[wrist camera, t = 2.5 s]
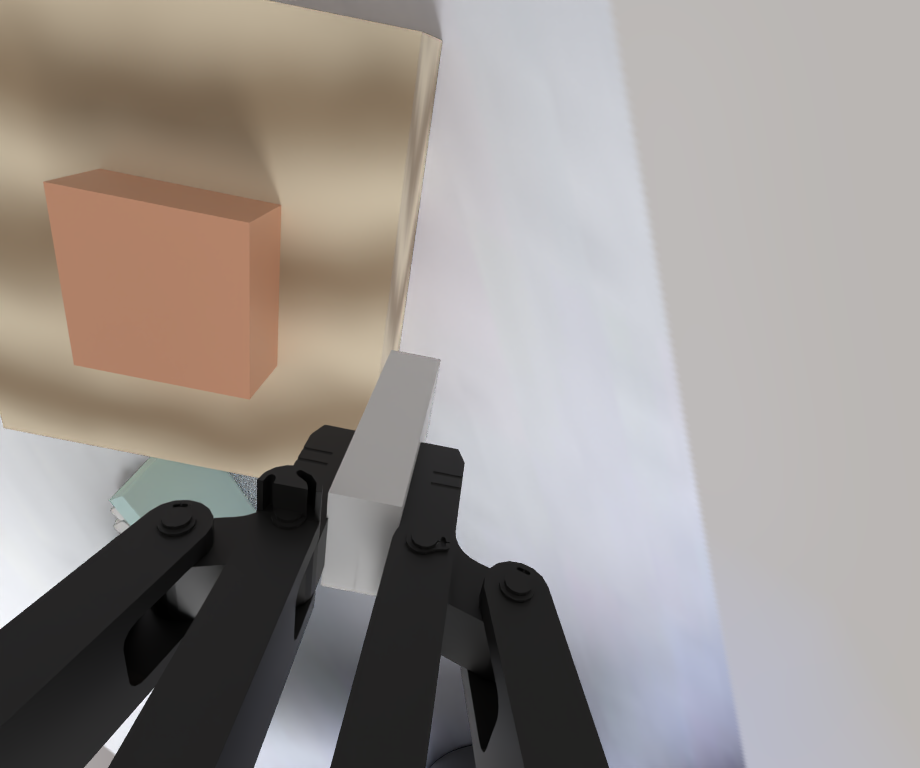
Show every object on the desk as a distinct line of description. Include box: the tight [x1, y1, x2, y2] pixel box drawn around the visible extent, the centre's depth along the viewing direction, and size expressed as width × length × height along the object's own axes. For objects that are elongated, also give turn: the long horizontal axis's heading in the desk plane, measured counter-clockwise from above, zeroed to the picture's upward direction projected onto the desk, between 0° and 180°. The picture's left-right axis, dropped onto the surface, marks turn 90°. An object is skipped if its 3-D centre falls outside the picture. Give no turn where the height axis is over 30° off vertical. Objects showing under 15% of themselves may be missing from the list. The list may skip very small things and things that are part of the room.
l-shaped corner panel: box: [109, 457, 256, 533], centre depth 36 cm, size 12×12×8 cm
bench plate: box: [0, 0, 442, 478], centre depth 26 cm, size 20×18×6 cm
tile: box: [43, 169, 281, 400], centre depth 22 cm, size 7×7×3 cm
